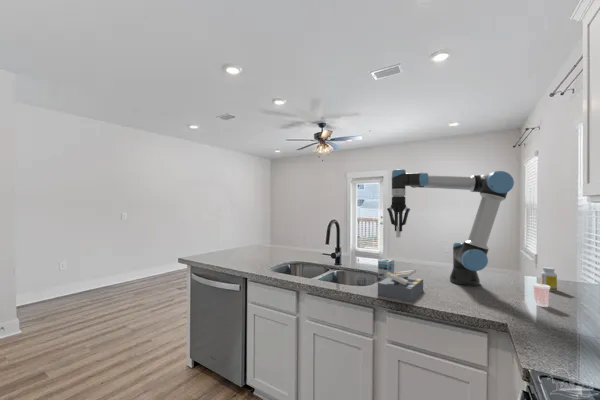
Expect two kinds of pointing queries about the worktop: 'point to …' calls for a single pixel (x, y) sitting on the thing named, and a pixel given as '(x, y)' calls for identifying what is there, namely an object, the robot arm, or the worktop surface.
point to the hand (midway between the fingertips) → (398, 237)
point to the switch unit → (401, 288)
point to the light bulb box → (385, 267)
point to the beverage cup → (541, 294)
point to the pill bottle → (549, 278)
